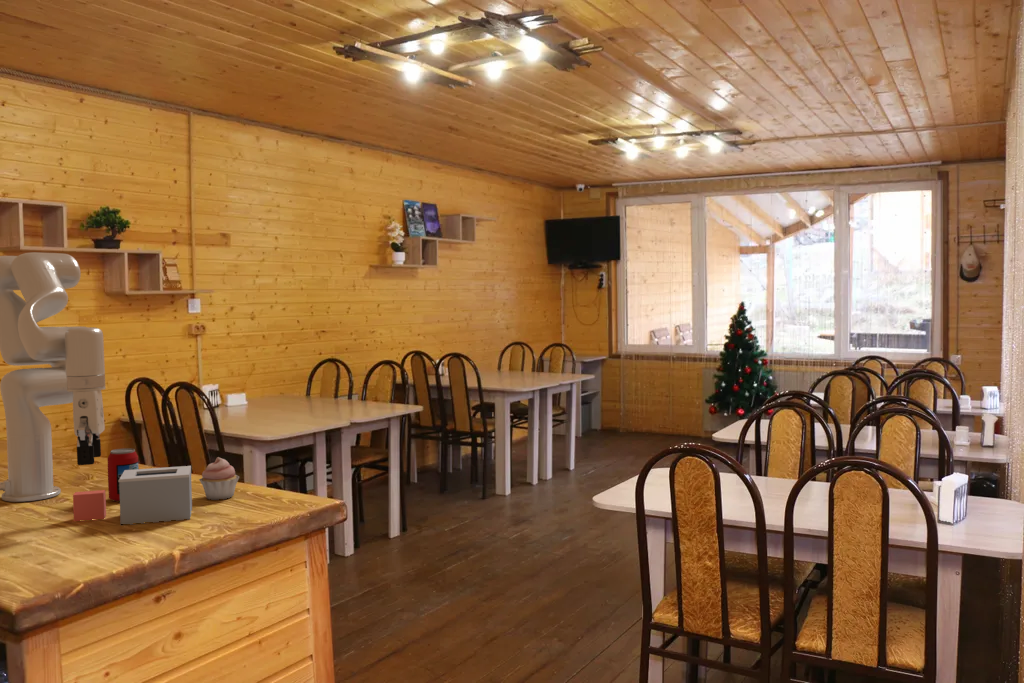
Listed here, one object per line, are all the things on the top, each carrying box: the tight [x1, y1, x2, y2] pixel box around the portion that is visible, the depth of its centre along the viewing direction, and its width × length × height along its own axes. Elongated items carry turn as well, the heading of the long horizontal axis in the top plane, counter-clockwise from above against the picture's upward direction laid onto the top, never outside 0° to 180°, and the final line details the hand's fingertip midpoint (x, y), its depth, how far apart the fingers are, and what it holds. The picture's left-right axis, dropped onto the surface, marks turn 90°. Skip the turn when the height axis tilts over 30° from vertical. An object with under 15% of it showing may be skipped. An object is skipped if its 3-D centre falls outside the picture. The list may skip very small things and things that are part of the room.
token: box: [72, 489, 107, 522], centre depth 181 cm, size 6×3×6 cm, turn 109°
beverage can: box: [107, 447, 140, 502], centre depth 198 cm, size 7×7×12 cm
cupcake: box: [198, 456, 240, 501], centre depth 200 cm, size 9×9×10 cm
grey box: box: [119, 465, 193, 525], centre depth 183 cm, size 14×10×10 cm
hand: (89, 460), depth 180 cm, fingers open, 9 cm apart
